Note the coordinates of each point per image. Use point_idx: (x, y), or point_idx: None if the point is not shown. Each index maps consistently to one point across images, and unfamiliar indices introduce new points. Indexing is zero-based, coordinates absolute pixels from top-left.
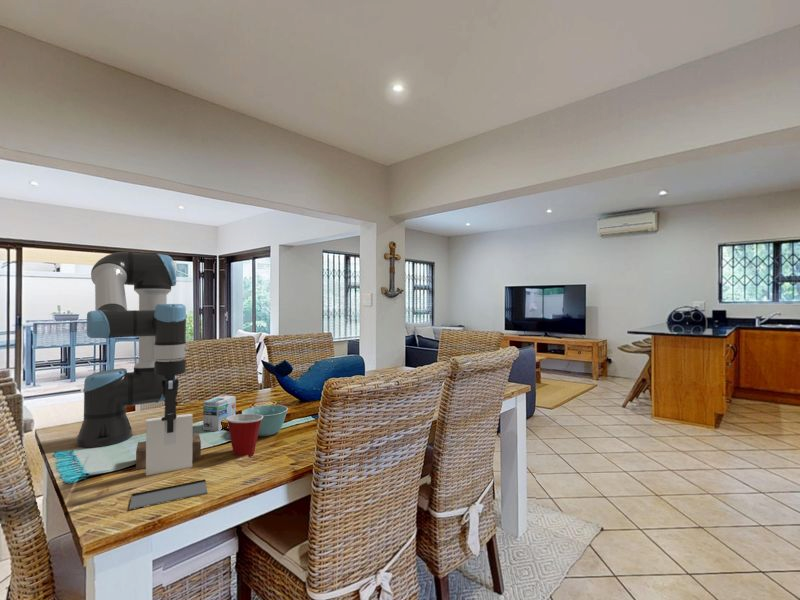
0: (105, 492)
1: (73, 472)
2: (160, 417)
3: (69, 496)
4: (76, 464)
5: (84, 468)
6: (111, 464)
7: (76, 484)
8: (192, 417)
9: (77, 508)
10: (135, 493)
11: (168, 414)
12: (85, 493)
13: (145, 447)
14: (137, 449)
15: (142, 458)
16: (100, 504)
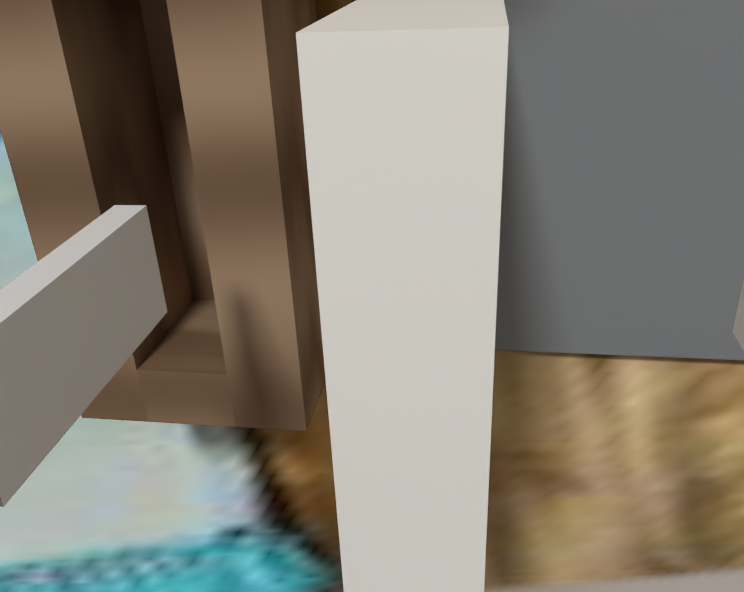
0: (564, 464)
1: (187, 577)
2: (344, 517)
3: (512, 581)
4: (75, 571)
5: (147, 544)
6: (130, 448)
7: None
8: (504, 24)
9: (700, 554)
10: (734, 343)
11: (55, 382)
12: (516, 533)
13: (235, 374)
14: (264, 423)
15: (318, 356)
16: (728, 479)
